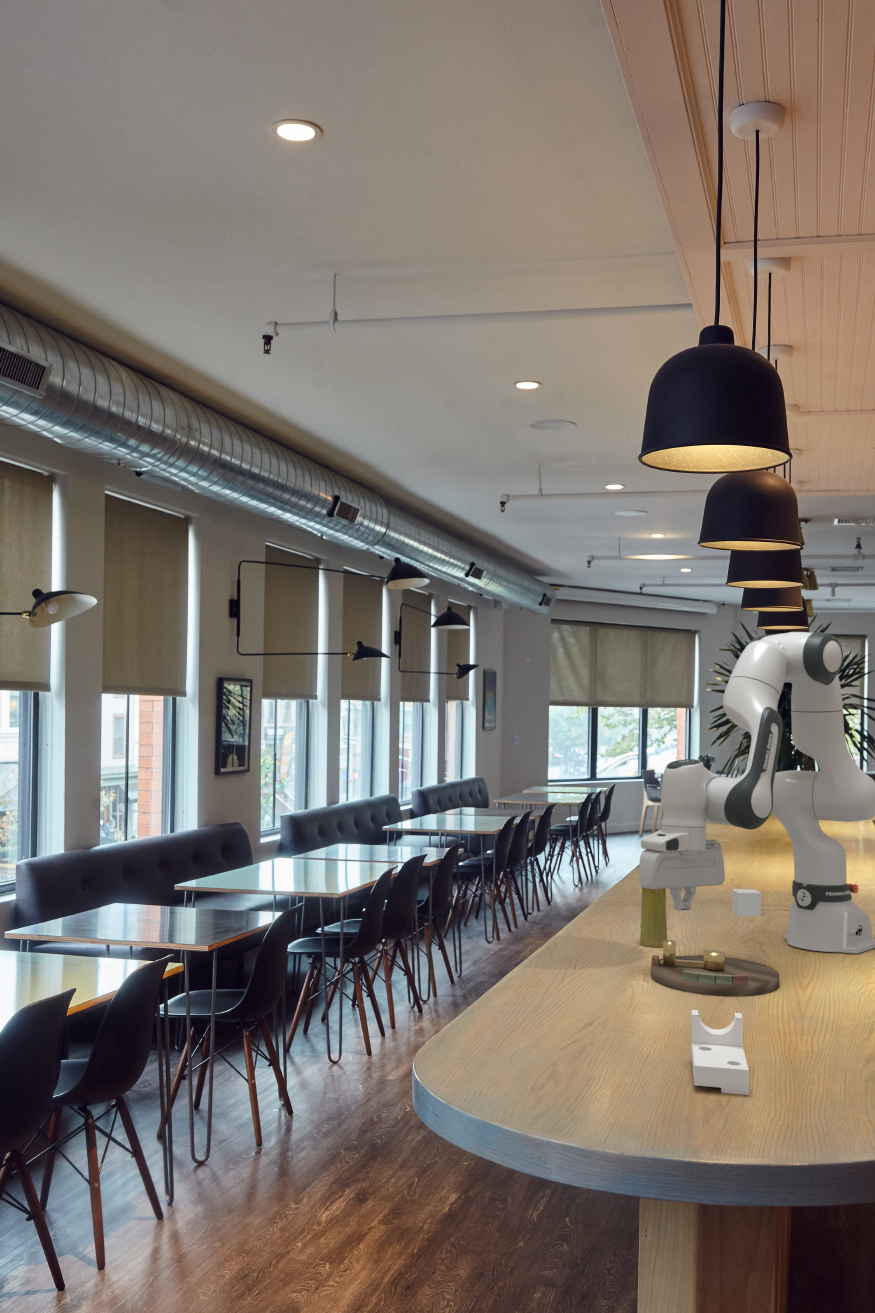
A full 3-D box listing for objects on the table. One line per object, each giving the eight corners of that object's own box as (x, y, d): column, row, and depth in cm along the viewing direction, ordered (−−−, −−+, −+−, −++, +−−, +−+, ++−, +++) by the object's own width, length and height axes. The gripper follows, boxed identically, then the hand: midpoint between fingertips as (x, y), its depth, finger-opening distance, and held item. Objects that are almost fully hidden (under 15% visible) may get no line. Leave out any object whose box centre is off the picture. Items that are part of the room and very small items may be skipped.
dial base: (709, 960, 219) (709, 943, 220) (806, 985, 200) (806, 966, 200) (625, 974, 206) (625, 956, 206) (720, 1002, 186) (720, 982, 186)
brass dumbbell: (725, 966, 204) (725, 943, 205) (724, 971, 201) (724, 947, 201) (661, 961, 208) (661, 938, 208) (659, 965, 204) (659, 942, 204)
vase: (667, 948, 231) (667, 882, 231) (639, 946, 232) (639, 881, 233) (667, 942, 237) (667, 878, 237) (639, 941, 238) (639, 877, 239)
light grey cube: (732, 912, 277) (732, 889, 277) (755, 912, 277) (754, 889, 277) (737, 916, 271) (737, 892, 271) (761, 916, 271) (761, 893, 271)
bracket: (691, 1062, 154) (691, 1010, 155) (741, 1066, 153) (741, 1013, 153) (694, 1092, 142) (694, 1035, 142) (748, 1097, 140) (748, 1039, 141)
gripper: (709, 837, 220) (709, 904, 218) (634, 840, 209) (633, 910, 208) (732, 840, 214) (731, 909, 213) (655, 843, 204) (655, 915, 203)
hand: (682, 909), depth 211 cm, fingers closed
